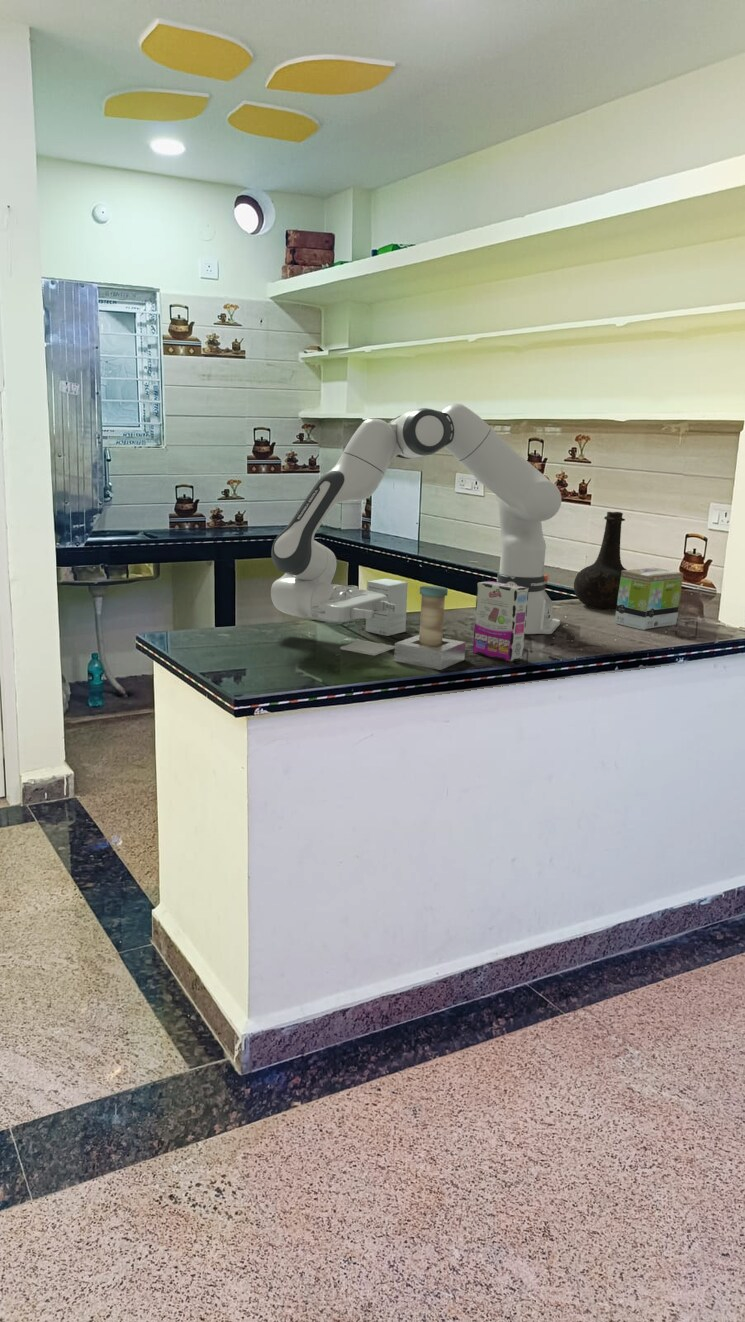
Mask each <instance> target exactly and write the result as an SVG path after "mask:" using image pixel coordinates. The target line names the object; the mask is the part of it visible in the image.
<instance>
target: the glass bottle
mask: <svg viewBox="0 0 745 1322" xmlns="http://www.w3.org/2000/svg"><path fill="white" fill-rule="evenodd" d="M623 515H624V513H623V512H621V511H607V512H606V516H604V520H606V521H605V526H604V533H603V537H602V542H601V546H600V549H599V553H598V556H597V558H596V560H595V562H594V563H592V564H591V565H587V566H585V567H584V568H582V569H581V570H580V571H579V572H578V573H577V575H576V576H575V578H574V582H573V591H574V594H575V596H576V597H577V599H578V601H579V602H581V604H583V605H585V606H587V607H589V608H593V609H598V610H606V611H616V608H617V600H618V593H619V586H620V579H621V572H622V570H628V569H626V568H625V567H624V566H623V565H622V561H621V537H622V536H621V534H622V522H624V521H626V519H625V518H623Z"/></svg>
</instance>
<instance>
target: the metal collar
mask: <svg viewBox="0 0 745 1322" xmlns="http://www.w3.org/2000/svg"><path fill="white" fill-rule="evenodd" d="M419 635H420V633H419V634H417V635H415V636H411V637H408V638H405V639H403V640H399V641H397V642H394V646H395V648H394V653H393V662H397V663H403V664H406V665H407V664H408V665H412V666H417V667H424V668H428V669H433V670H438V671H439V670H440V671H441V670H444V669H446V668H448V667H450V666H451V667H452V666H453V665H455V664H458V663H460V662H462V661H464V660H465V657H466V656H465V655H466V641H462V640H456V639H451V638H445V637H444V638H443V637H442V646H440V647H437V648H436V647H431V646H425V645H419Z"/></svg>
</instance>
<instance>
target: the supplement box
mask: <svg viewBox="0 0 745 1322" xmlns="http://www.w3.org/2000/svg"><path fill="white" fill-rule="evenodd" d="M366 582H367V583H366V586H367V587H366V590H368V591H373V592H377V593H381V594H384V595H386V596H387V602H388V603H391V604H395V605H396V611H395V612H392V613H390V612H386V611H381V612H378V613H375V614H374V618H372V619H365V631H366V632H368V633H370V634H377V635H381V636H386V637H390V636H393V635H397V634H401V633H405V632H406V627H407V626H406V625H407V624H406V623H407V608H408V607H407V602H408V601H407V600H408V585H409V583H408V581H403V580H398V579H397V580H396V579H391V578H381V579H375V580H374V579H373V580H368V581H366Z"/></svg>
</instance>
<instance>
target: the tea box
mask: <svg viewBox="0 0 745 1322" xmlns="http://www.w3.org/2000/svg"><path fill="white" fill-rule="evenodd" d="M683 579H684V572H680V571H674V570H671V569H670V570H669V569H663V568H658V567H647V568H644V567H643V568H635V569H627V570H622V572H621V579H620V586H619V593H618V600H617V608H616V610H615V616H614V624H617V625H621V626H625V627H629V628H632V629H638V630H642V631H645V630H648V629H655V628H660V627H662V628H663V627H667V626H668V627H669V626H676V625H677V620H678V614H679V606H680V600H681V595H682V594H681V593H682V587H683V586H682V585H683V581H684V580H683Z"/></svg>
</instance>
